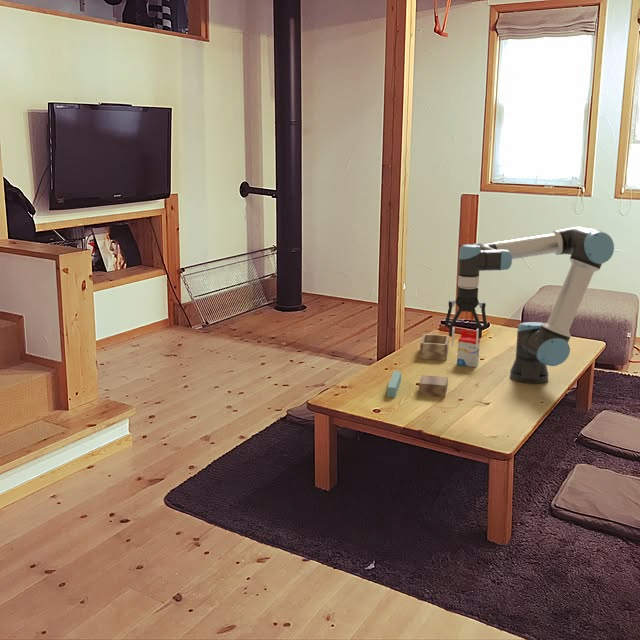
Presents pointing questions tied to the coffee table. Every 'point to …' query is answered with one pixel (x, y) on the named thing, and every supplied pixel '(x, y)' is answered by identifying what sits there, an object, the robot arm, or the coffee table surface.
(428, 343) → the box
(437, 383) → the block
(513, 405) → the coffee table surface
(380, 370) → the coffee table surface
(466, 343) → the ink box
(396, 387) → the teal long rectangular bar
